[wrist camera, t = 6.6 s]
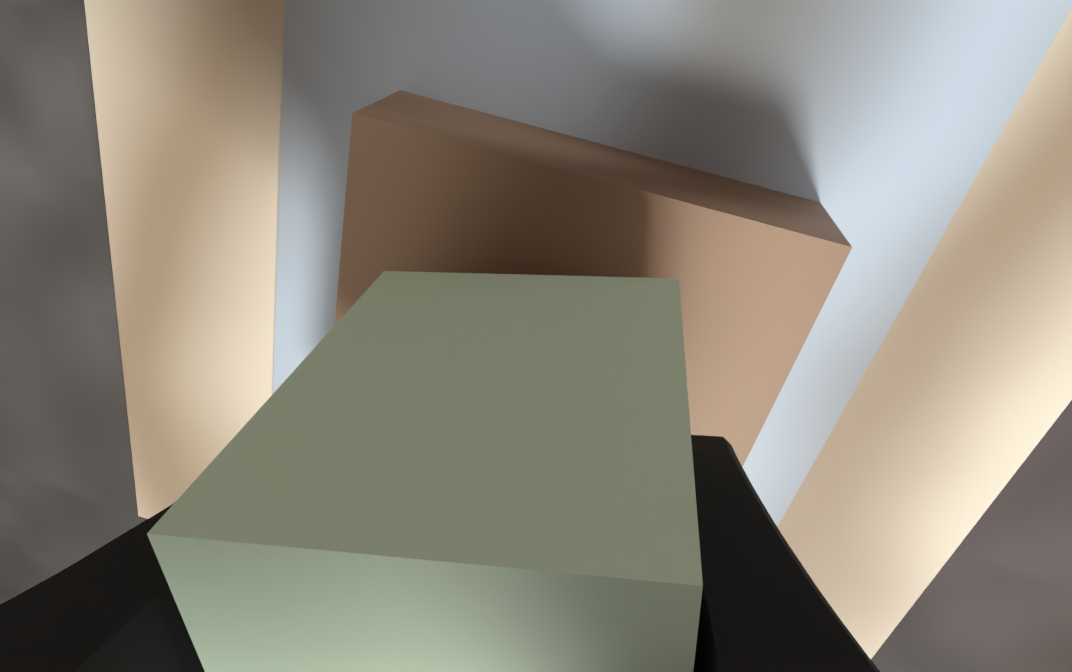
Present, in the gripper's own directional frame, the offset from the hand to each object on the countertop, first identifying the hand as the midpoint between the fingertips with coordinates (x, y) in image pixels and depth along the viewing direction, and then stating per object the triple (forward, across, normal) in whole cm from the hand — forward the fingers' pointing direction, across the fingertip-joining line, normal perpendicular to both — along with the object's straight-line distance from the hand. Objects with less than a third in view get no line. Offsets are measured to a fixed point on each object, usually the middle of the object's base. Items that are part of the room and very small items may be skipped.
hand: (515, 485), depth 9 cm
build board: (+5, 0, 0) cm, 5 cm away
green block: (+2, 0, 0) cm, 2 cm away
